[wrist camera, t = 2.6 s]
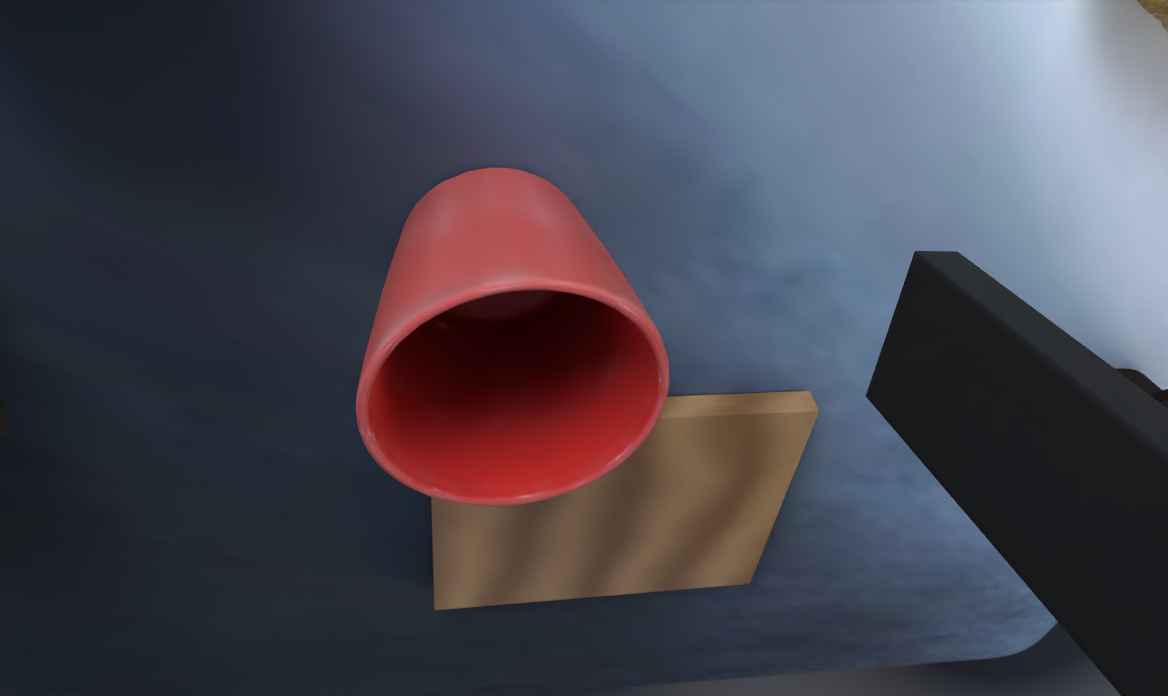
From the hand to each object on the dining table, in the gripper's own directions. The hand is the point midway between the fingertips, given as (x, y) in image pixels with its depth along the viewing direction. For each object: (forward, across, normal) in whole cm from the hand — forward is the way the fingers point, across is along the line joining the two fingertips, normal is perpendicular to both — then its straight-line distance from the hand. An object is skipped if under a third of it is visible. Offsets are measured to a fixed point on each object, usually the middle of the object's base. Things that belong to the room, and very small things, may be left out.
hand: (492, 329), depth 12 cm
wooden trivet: (+25, +11, -26) cm, 38 cm away
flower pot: (+23, +3, -9) cm, 25 cm away
